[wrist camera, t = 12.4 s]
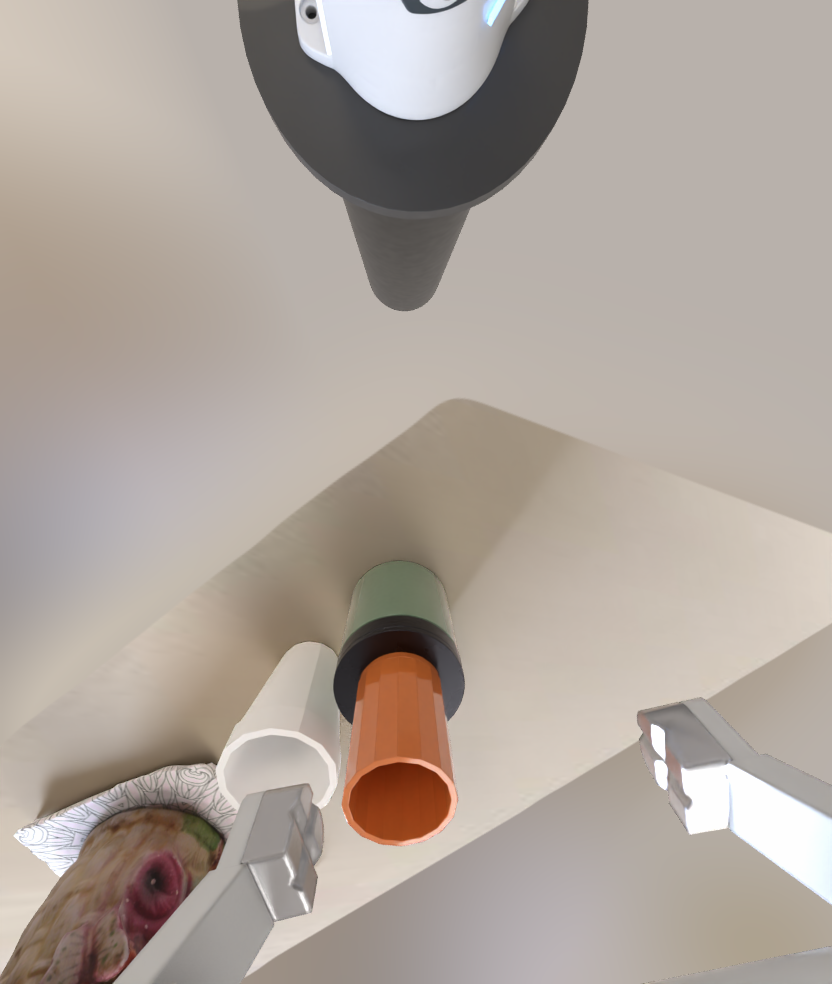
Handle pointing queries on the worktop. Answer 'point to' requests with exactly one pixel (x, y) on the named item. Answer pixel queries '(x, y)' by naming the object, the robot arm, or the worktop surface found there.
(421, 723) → the cup
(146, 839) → the cookie jar
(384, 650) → the jar lid
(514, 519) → the worktop surface
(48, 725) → the worktop surface
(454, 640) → the jar
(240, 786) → the foam cup
